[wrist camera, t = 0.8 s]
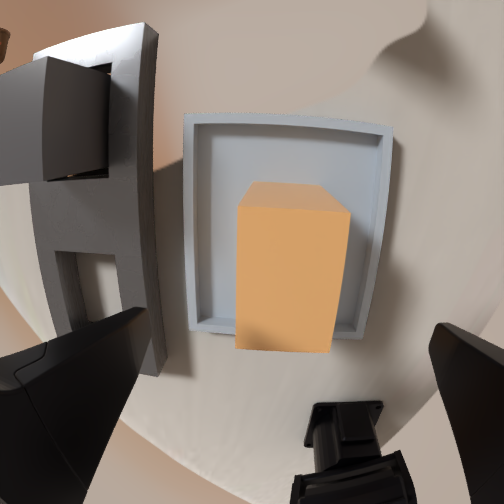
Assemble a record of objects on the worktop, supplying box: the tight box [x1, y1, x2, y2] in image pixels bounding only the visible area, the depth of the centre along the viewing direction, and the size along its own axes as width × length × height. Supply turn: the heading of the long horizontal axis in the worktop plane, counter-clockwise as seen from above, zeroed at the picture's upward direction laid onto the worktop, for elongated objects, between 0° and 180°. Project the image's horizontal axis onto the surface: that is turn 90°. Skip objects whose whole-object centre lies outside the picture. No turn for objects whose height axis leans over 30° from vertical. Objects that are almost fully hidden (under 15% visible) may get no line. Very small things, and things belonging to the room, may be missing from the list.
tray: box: [183, 113, 393, 339], centre depth 19 cm, size 14×12×2 cm
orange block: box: [235, 181, 351, 353], centre depth 16 cm, size 6×4×8 cm, turn 178°
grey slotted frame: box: [29, 22, 167, 377], centre depth 19 cm, size 24×9×2 cm, turn 178°
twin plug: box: [0, 56, 111, 186], centre depth 14 cm, size 6×4×8 cm, turn 178°
